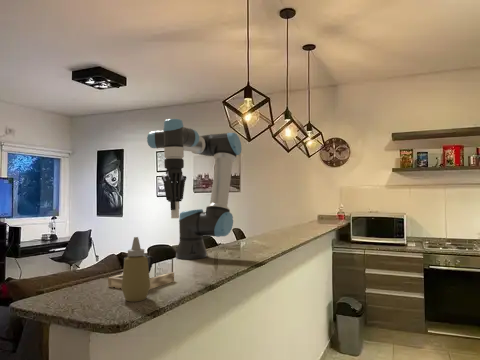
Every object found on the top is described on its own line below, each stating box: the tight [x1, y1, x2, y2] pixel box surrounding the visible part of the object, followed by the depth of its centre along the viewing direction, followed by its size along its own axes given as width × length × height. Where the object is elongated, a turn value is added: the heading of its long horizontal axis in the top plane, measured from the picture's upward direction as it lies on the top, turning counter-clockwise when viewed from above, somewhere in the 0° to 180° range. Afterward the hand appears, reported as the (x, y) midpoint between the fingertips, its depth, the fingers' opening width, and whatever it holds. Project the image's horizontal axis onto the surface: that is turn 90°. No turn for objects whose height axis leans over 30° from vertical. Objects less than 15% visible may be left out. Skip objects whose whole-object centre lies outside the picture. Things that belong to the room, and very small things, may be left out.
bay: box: [107, 271, 175, 290], centre depth 125 cm, size 16×15×3 cm
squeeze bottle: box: [121, 236, 150, 303], centre depth 106 cm, size 8×8×18 cm
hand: (175, 218), depth 143 cm, fingers closed
